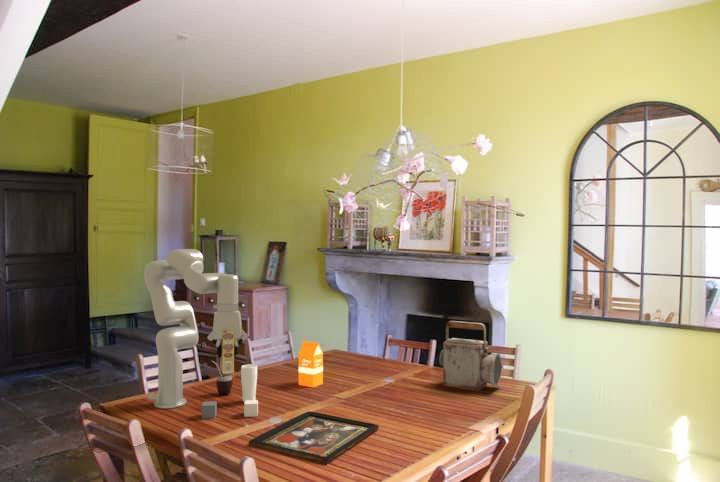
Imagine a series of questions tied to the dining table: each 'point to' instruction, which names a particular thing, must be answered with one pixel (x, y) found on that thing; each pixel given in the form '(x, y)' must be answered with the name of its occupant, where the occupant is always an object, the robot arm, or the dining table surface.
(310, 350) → the orange juice
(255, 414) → the off-white block
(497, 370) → the lantern
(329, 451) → the framed painting
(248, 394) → the drinking glass
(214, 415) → the dark grey block
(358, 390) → the dining table surface
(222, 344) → the candy box
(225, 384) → the mate gourd
